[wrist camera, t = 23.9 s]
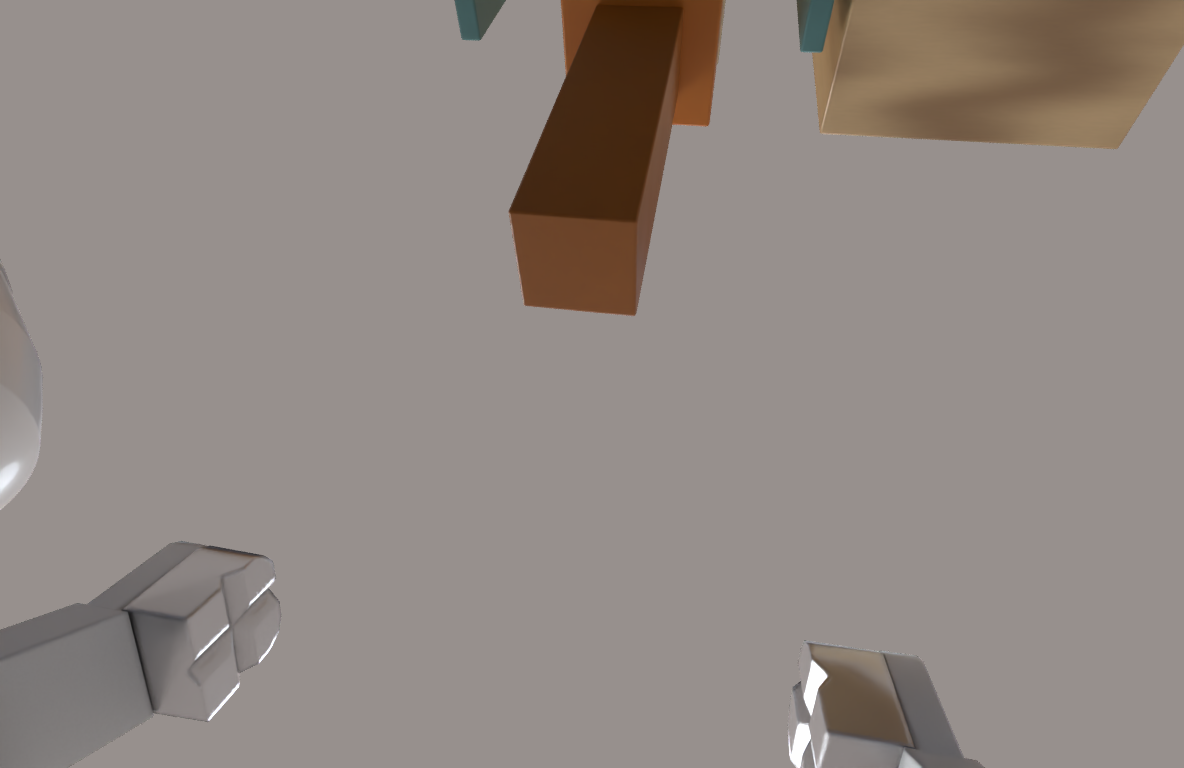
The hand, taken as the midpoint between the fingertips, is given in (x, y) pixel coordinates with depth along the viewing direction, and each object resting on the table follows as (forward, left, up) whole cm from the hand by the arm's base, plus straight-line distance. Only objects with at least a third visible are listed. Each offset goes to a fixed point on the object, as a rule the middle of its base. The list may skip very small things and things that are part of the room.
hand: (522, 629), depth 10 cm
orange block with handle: (+4, -17, -4) cm, 18 cm away
